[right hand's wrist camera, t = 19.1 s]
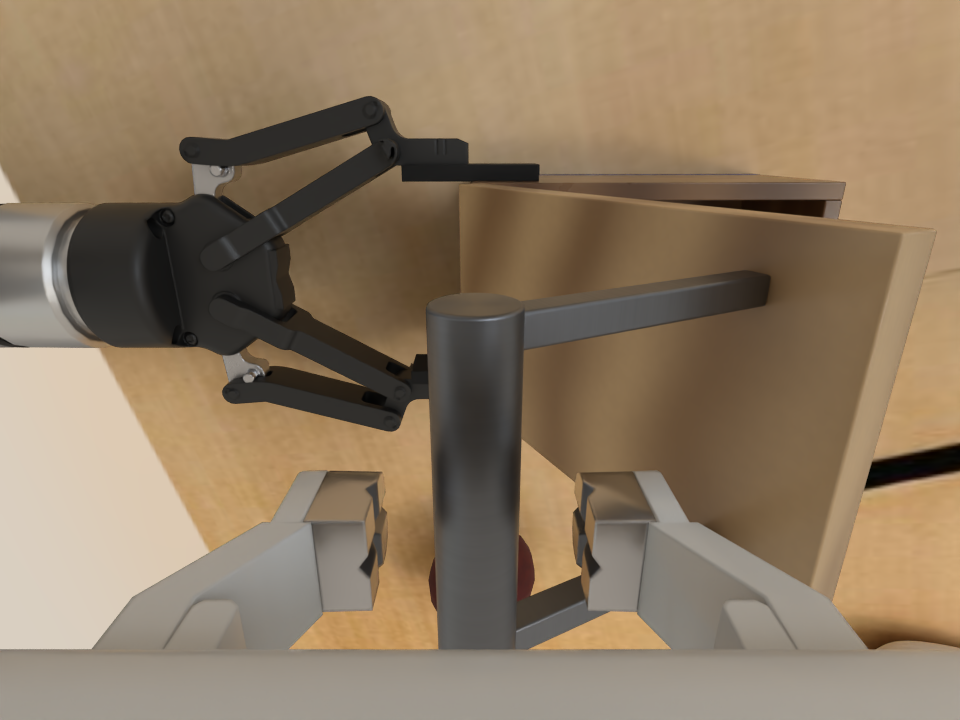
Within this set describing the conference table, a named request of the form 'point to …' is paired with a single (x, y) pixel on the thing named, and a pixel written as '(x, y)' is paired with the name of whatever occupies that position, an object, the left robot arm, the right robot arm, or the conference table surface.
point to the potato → (523, 581)
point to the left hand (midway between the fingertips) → (532, 276)
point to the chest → (704, 190)
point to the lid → (657, 380)
